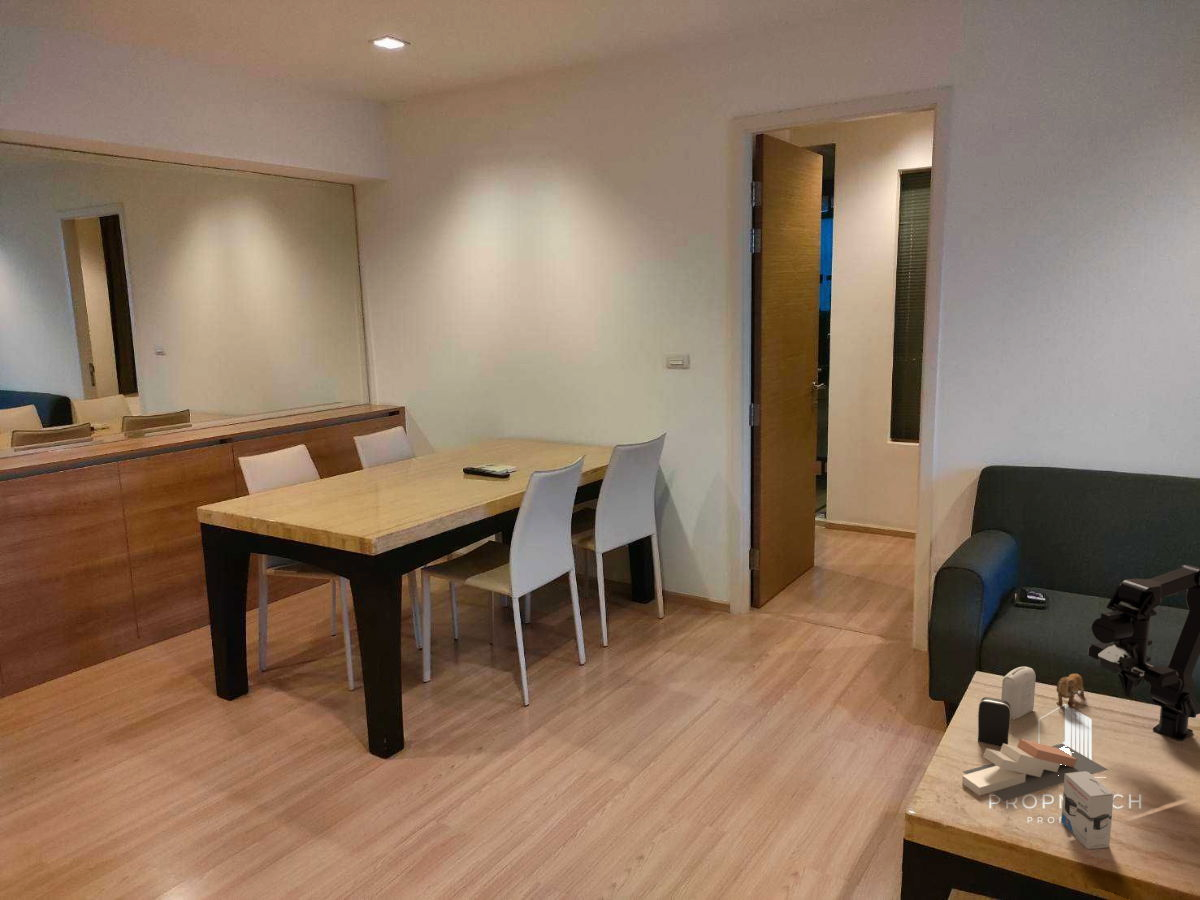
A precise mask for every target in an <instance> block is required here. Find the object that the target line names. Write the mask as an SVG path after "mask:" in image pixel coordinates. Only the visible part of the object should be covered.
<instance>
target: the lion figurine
mask: <svg viewBox="0 0 1200 900" xmlns="http://www.w3.org/2000/svg"><path fill="white" fill-rule="evenodd" d="M1079 690H1080V692H1079ZM1056 692H1057V696H1058V701H1057V702H1056V705H1057V706H1062V705H1063V698H1064V699H1068V702H1067V705H1068V706H1067V707H1068V708H1070V709H1072V708H1074V707H1075V706H1074V703H1073V702H1074V698H1075V695H1076V694H1077V693H1078V692H1079V693H1078V694H1079V696H1080V697H1085V687H1084V681H1083V677H1082V676H1081V675H1080V674H1078V673H1071V674H1069V675H1068V676H1063V677H1062V678H1059V680H1058V681H1057V683H1056Z"/></svg>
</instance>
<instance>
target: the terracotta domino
mask: <svg viewBox="0 0 1200 900" xmlns="http://www.w3.org/2000/svg"><path fill="white" fill-rule="evenodd" d="M1018 741H1019V742H1018V744H1017V746H1016V747H1018V748H1020V749H1021V750H1023V751H1025V752H1026V753H1028V754H1029V755H1031V756H1033V757H1034V758H1037V759H1041V760H1045V761H1049V762H1054V763H1058V764H1062V765H1066V766H1070V767H1074V766H1075V763H1076V761H1077V759H1076V758H1074V757H1072V756H1070V755H1069V754H1067V753H1065V752H1064V751H1062V750H1060V749H1059V748H1055V747H1051V746H1052V745H1046V744H1042V743H1038V742H1034V741H1030V740H1026V739H1022V738H1020V739H1019V740H1018Z"/></svg>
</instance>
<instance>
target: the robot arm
mask: <svg viewBox="0 0 1200 900" xmlns="http://www.w3.org/2000/svg"><path fill="white" fill-rule="evenodd" d="M1182 591H1186V595H1185V600H1186V604H1187V608H1188V613H1187V614H1186V615H1187V616H1186V618H1185V621H1184V623H1183V627H1182V629H1181V630H1180V631H1181V632H1180V634H1179V637H1178V639H1177V641H1176V644H1175V647H1174V649H1173V652H1172V655H1171V657H1170V660H1169V662H1168V664H1167V666H1166V665H1163V664H1158V665H1151V664H1149V662H1151V660H1152V659H1151V658H1152V657H1151V656H1149V655H1148V647H1149V646H1151V645H1153V640H1152V639H1149V635H1150V625H1151V617H1154V616H1157V614H1158V613H1157V612H1156V611H1155V610H1154V609H1155V608H1157V607H1159V606H1160V605H1161V604H1162V600H1163V599H1164V598H1166V597H1170V596H1172V595H1175V594H1178V593H1180V592H1182ZM1120 603H1121V604H1120ZM1123 604H1124V605H1123ZM1131 607H1132V608H1131ZM1106 609H1107V610H1110V611H1109V612H1101V613H1100V618H1099V617H1098V618H1096V619H1095V620H1094V621H1093V622H1092V624H1091V631H1092V635H1093V636H1094V637H1095V638H1096V640H1097V641H1098V642H1095V643H1092V644H1090V645H1089V646H1088V649H1087V656H1089V657H1091V658H1093V659H1095V660H1098V661H1099V666H1100V667H1101V668H1102V669H1106V670H1109V671H1111V673H1113V674H1117V676H1118V678H1119V680H1120V684H1121V687H1122V690H1123V692H1124V696H1125V697H1126V698H1132V697H1133V696H1134V695H1135V693H1136V692H1137V690H1138V689H1139V687H1140V686H1141V685H1142V683H1143V682H1144V681H1146V682H1147V683H1149V687H1148V688H1149V690H1148V691H1149V695H1150V699H1151V703H1152V704H1155V705H1157V706H1159V707H1160V713H1159V721H1158V722H1159V723H1158V724H1157V725H1155V726H1154V727H1153V728H1152V730H1153V731H1154V732H1156V733H1159V734H1162V735H1164V736H1168V737H1171V738H1172V739H1173V738H1174V739H1176V740H1178V741H1184V740H1185V739H1186V738H1188V737H1189V736H1190V735H1192V734H1193V733H1194V730H1192V729H1190V728H1188V727H1189V718H1192V719H1193V718H1196V717H1197V715H1199V714H1200V703H1199V702H1198V701H1197V700H1196V698H1195V697H1194V694H1195V692H1196V691H1195V690H1196V687H1195V682H1194V679H1193V673H1194V670H1195V668H1196V664H1197V662H1198V660H1199V657H1200V567H1197V566H1194V565H1191V564H1183V565H1180V567H1179V568H1177V569H1174V570H1171V571H1168V572H1165V573H1162V574H1160V575H1157V576H1154V577H1151V578H1147V579H1145V578H1129V579H1125V580H1123V581H1121V582H1120V584H1119V585H1117V588H1116V590H1115V592H1114V593H1113V595H1112V597H1111V598H1110V600H1109V602H1108V603H1107V605H1106Z"/></svg>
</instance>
